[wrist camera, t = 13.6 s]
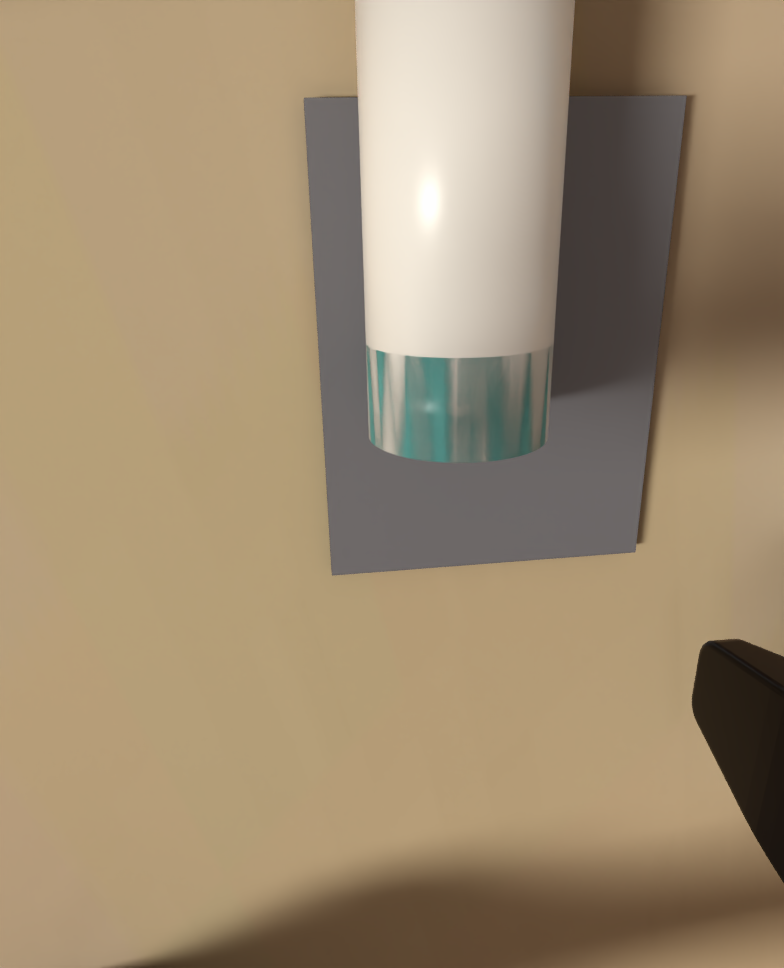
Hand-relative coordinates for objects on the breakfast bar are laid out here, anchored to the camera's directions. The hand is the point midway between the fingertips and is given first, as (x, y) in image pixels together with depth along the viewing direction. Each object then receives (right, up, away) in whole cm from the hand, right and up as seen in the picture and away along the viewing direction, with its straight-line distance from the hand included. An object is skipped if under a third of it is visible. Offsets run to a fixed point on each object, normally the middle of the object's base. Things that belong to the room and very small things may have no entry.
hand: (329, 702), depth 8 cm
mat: (+3, +6, +11) cm, 13 cm away
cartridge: (+3, +9, +8) cm, 13 cm away
